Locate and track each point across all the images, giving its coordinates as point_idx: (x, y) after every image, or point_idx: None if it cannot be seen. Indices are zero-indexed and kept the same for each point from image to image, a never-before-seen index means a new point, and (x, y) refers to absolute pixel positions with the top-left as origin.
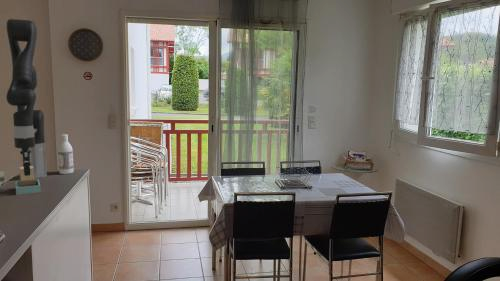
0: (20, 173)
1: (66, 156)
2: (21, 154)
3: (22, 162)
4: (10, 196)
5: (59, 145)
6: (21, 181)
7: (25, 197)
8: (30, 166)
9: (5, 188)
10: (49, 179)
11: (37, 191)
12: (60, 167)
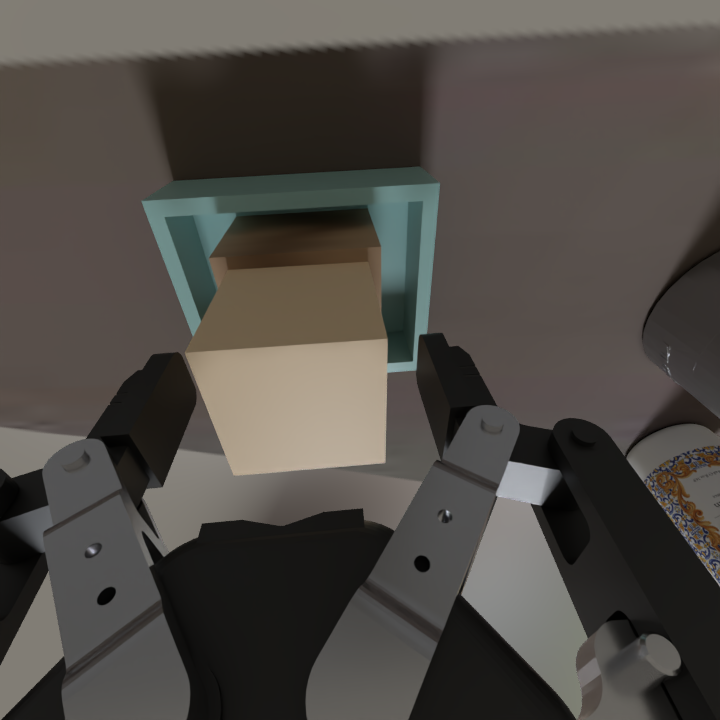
0: (207, 318)
1: (717, 566)
2: (74, 712)
3: (119, 490)
4: (173, 122)
5: None
6: (214, 275)
7: (122, 255)
8: (352, 446)
9: (521, 47)
10: (574, 380)
11: None
12: (691, 463)
